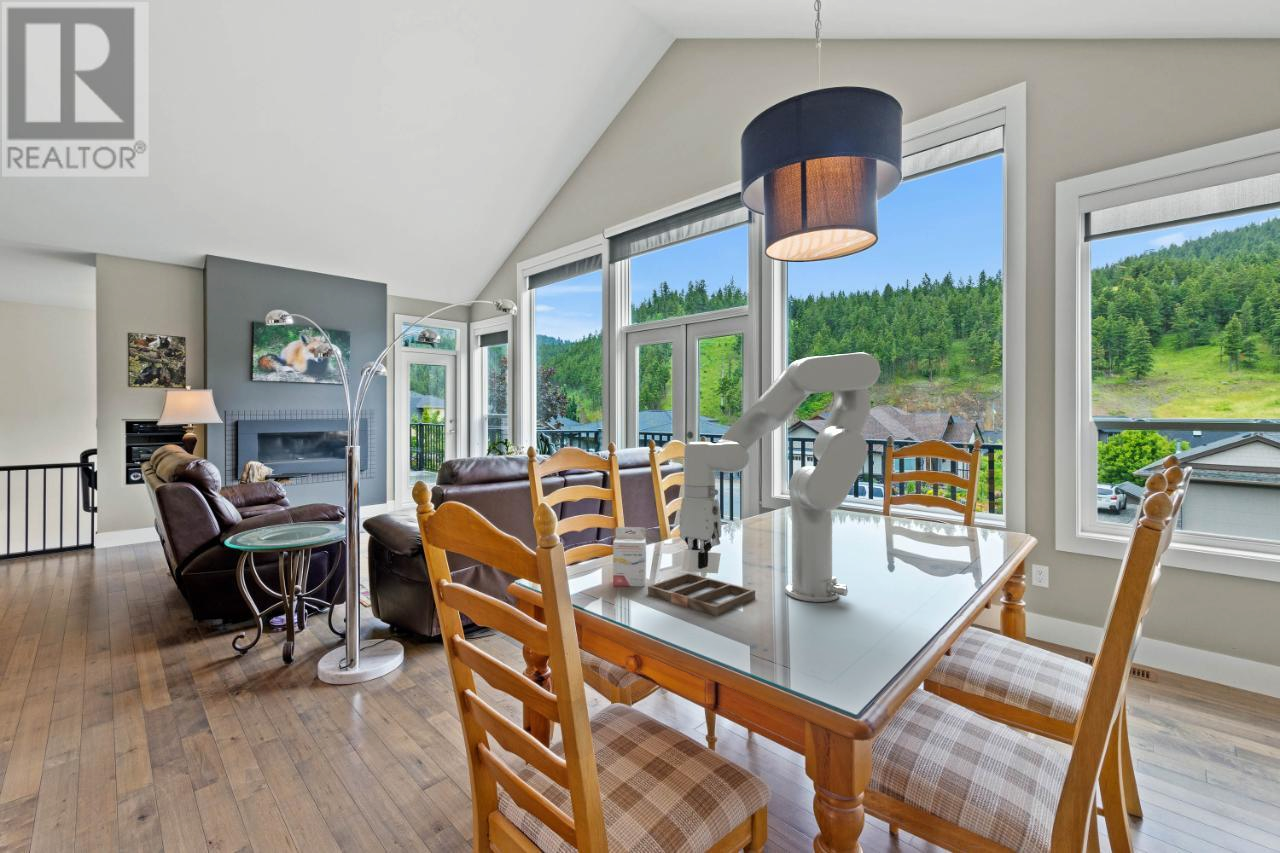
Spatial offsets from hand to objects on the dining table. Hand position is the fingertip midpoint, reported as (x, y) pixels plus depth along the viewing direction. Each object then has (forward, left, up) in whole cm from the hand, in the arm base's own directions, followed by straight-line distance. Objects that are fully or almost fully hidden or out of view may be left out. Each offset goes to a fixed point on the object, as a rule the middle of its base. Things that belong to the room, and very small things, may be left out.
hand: (699, 566), depth 135 cm
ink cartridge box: (+20, +5, -8) cm, 22 cm away
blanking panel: (0, 0, -1) cm, 1 cm away
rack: (0, 0, -8) cm, 8 cm away
